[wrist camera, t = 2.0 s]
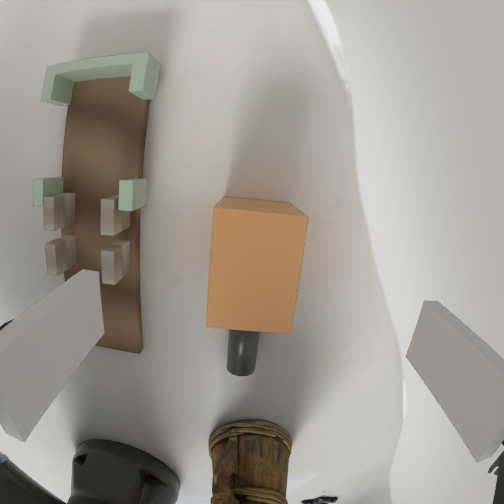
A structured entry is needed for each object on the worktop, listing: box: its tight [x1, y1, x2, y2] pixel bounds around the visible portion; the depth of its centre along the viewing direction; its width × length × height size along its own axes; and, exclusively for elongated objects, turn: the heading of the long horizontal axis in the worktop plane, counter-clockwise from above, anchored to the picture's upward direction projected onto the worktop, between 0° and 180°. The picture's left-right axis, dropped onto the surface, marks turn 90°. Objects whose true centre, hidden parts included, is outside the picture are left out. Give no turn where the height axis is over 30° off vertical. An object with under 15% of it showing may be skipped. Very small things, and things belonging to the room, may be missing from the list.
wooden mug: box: [209, 420, 292, 504], centre depth 21 cm, size 9×14×18 cm, turn 22°
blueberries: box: [301, 492, 338, 504], centre depth 34 cm, size 7×8×2 cm
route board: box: [44, 76, 150, 354], centre depth 21 cm, size 24×7×4 cm, turn 174°
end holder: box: [33, 52, 161, 211], centre depth 19 cm, size 11×9×3 cm
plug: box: [206, 197, 308, 376], centre depth 22 cm, size 14×5×7 cm, turn 174°
